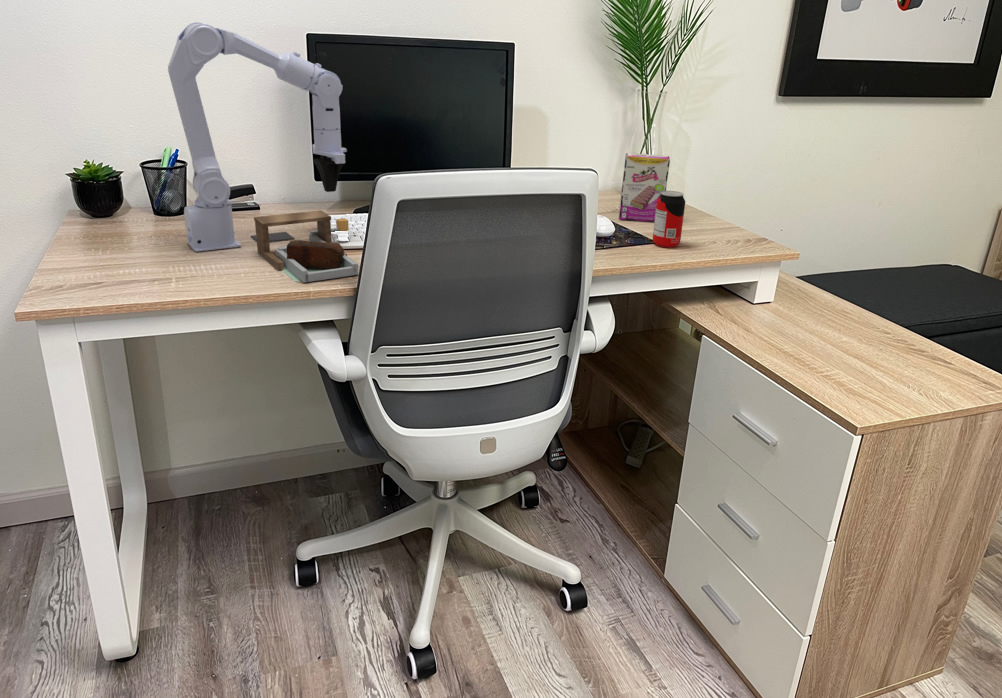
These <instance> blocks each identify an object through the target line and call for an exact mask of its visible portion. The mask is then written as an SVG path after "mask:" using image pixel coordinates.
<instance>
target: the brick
mask: <svg viewBox="0 0 1002 698" xmlns="http://www.w3.org/2000/svg"><path fill="white" fill-rule="evenodd" d="M286 247H287V259H294V260H295V261H296V262H297V263H299V264H300V265H301V266H302V267H304V268H321V269H337V268H340V267H341V266H342V264H343V256H344V252H345V251H344V248H343V246H342V245H341V244H340V243H339V242H332V243H329V242H312V241H309V240H300V239H293V240H289V243H288V244H287V245H286Z"/></svg>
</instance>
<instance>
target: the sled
mask: <svg viewBox="0 0 1002 698" xmlns="http://www.w3.org/2000/svg"><path fill="white" fill-rule="evenodd" d="M335 221H336V222H335V223H336V227H334V228H331V232H335V231H347V230H349V220H348V219H346V218H345V217H344V218H336V219H335ZM349 231H350V230H349ZM309 232H310V233H309V234H308V239H309V240H308V241H312V242H325V241H324V240H322V239H321V238H319V237H318V231H317V230H310V231H309ZM275 256H276V257H278V258H279V259H280V260H281V261H282V262H284V267H285V268H287V269H288V270H289V271H290V272H291V273H292V274H294V275H295V276H296V277H297V278H298V279H300V280H301V281H300V282H302V283H310V282H317V281H323V280H330V279H338V278H344V277H351V276H358V275H359V273H358V271H359V264H358V263H357V262H356V261H355V260H354V259H352V258H350V257H348V255H347V256H346V255H344V256H343V264H342V266H341V267H343V268H337V269H330V270H323V271H316V272H308V270H306V269H305V268H304V267H302V266H301V265H300V264H299V263H297V262H296V261H295V260H294V259H287V246H282V247H277V249H275Z"/></svg>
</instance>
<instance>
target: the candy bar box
mask: <svg viewBox="0 0 1002 698" xmlns="http://www.w3.org/2000/svg"><path fill="white" fill-rule="evenodd" d="M670 162H671V159H670V155H662V154H660V155H659V154H647V153H646V154H645V153H636V152H634V153H633V152H626V153H625V155H624V164H623V166H624V167H623V174H622V183H621V193H620V202H619V211H618V212H619V213H618V217H619V218H618V220H619V221H633V222H647V223H654V222H655V213H656V204H657V199H658V197H659V196H660V194H661V192H662V191H667V187H668V177H669V171H670V170H669V169H670V164H671V163H670Z"/></svg>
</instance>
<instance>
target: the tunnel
mask: <svg viewBox="0 0 1002 698" xmlns="http://www.w3.org/2000/svg"><path fill="white" fill-rule="evenodd" d="M331 220H332V216H331V215H329V214H328V213H326V212H324V211H322V210H311V211H303V212H292V213H283V214H282V213H281V214H273V215H262V216H255V217H253V221H254V226H255V227H254V228H255V235H256V239H257V242H256V248H257V249H256V250H257V254H258V255H260V257H261V258H263V259H264V260H265V261H266V262H267V263H269V264H270V265H271V266H272V267H273V268H274V269H275V270H277V272H278V271H282V270H284V262H282V261H281V260H280V259H279V258H278V257H276V254H274V253H273V252H271V246H270V245H271V244H270V243H271V242H269V234H270V232H269V227H276V226H277V227H278V226H287V225H296V224H305V223H313V222H315V223H316V229H317V231H318V237H319V238H321V239H322V240H324V241H325V242H329V243H333V241H332V235H331V229H332V226H331V225H332V224H331V223H332V221H331ZM344 255H346V256H347V257H348V254H347V252H345V251H344Z"/></svg>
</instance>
